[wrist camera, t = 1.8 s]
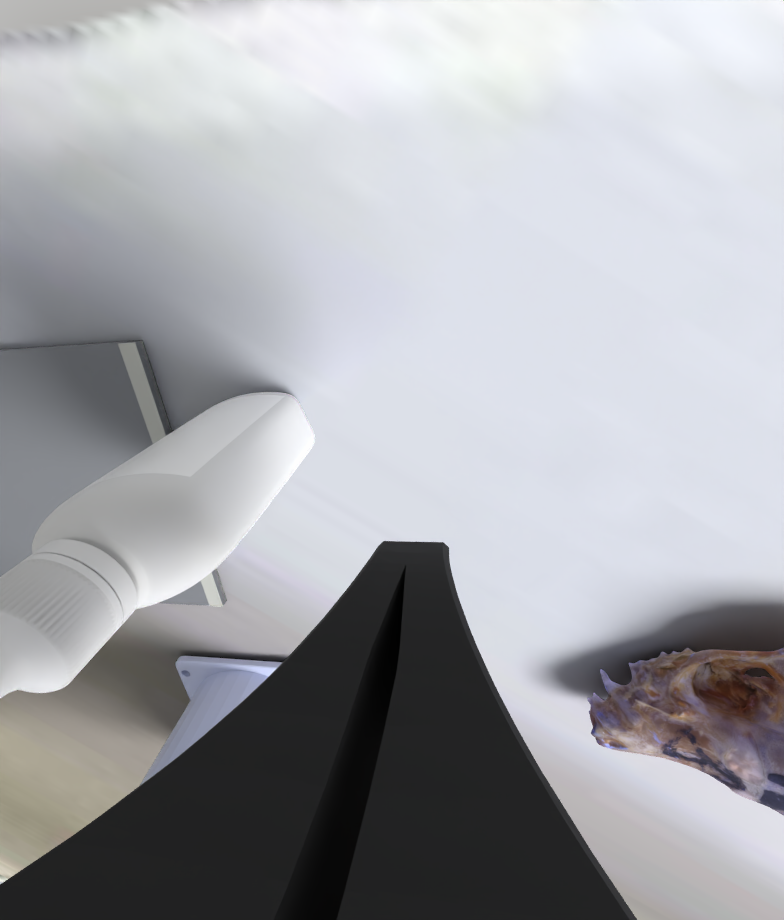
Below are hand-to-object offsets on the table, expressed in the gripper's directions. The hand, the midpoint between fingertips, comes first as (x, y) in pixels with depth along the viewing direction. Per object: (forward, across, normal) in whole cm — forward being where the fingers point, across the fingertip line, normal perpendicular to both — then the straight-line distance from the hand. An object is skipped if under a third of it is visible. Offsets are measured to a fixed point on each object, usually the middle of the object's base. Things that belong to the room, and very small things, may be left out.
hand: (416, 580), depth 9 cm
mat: (+8, +19, +2) cm, 21 cm away
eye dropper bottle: (+8, +8, 0) cm, 11 cm away
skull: (+9, -12, +12) cm, 19 cm away
